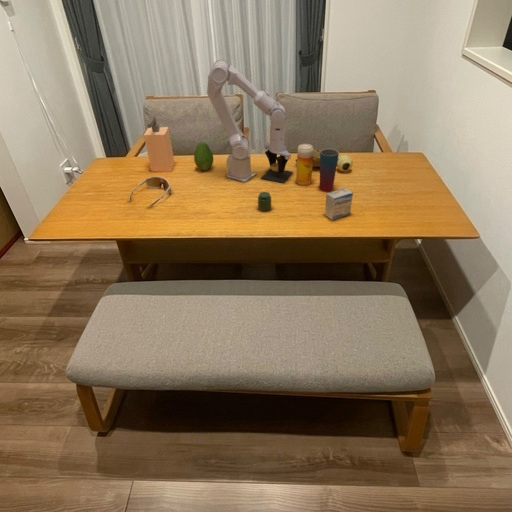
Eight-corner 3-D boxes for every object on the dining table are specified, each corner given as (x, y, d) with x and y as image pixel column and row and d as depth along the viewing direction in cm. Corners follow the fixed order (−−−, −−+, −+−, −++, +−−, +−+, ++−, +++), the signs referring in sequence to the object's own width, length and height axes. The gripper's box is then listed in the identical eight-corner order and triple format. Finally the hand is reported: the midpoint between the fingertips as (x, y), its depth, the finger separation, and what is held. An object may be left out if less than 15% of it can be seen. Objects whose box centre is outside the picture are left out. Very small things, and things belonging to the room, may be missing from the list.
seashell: (330, 174, 162) (335, 151, 156) (296, 172, 161) (299, 149, 155) (326, 163, 171) (330, 141, 165) (293, 161, 170) (296, 139, 164)
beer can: (310, 186, 152) (313, 150, 143) (295, 185, 153) (296, 149, 144) (311, 179, 157) (314, 143, 147) (297, 178, 158) (298, 142, 149)
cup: (337, 186, 151) (341, 149, 142) (332, 194, 147) (336, 157, 137) (320, 183, 154) (323, 147, 145) (315, 190, 149) (317, 154, 140)
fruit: (206, 163, 171) (203, 137, 164) (218, 168, 167) (215, 141, 160) (192, 169, 167) (188, 142, 160) (203, 175, 163) (200, 147, 155)
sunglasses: (178, 190, 152) (175, 180, 148) (154, 213, 143) (150, 202, 140) (151, 183, 158) (147, 172, 154) (126, 204, 149) (122, 194, 145)
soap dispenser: (155, 163, 173) (145, 113, 160) (174, 162, 173) (166, 113, 159) (149, 176, 163) (137, 124, 150) (169, 175, 163) (159, 123, 149)
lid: (286, 169, 157) (286, 166, 156) (275, 172, 155) (275, 169, 154) (278, 164, 161) (278, 161, 160) (268, 167, 159) (268, 164, 158)
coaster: (261, 179, 158) (261, 177, 158) (270, 169, 165) (270, 167, 165) (283, 183, 155) (283, 182, 154) (292, 173, 162) (292, 171, 161)
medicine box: (331, 220, 132) (334, 198, 127) (324, 214, 135) (326, 193, 130) (350, 214, 135) (353, 192, 130) (342, 209, 138) (345, 187, 133)
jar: (255, 209, 140) (255, 195, 136) (262, 203, 143) (262, 189, 139) (266, 213, 137) (266, 199, 134) (273, 207, 140) (273, 193, 137)
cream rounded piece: (335, 167, 165) (336, 152, 161) (351, 167, 164) (353, 152, 160) (336, 173, 160) (337, 158, 156) (352, 174, 159) (354, 158, 155)
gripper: (297, 140, 147) (296, 173, 155) (274, 130, 156) (274, 161, 165) (282, 145, 144) (282, 178, 152) (260, 134, 153) (260, 165, 162)
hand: (277, 169), depth 158 cm, fingers closed on lid, 5 cm apart
